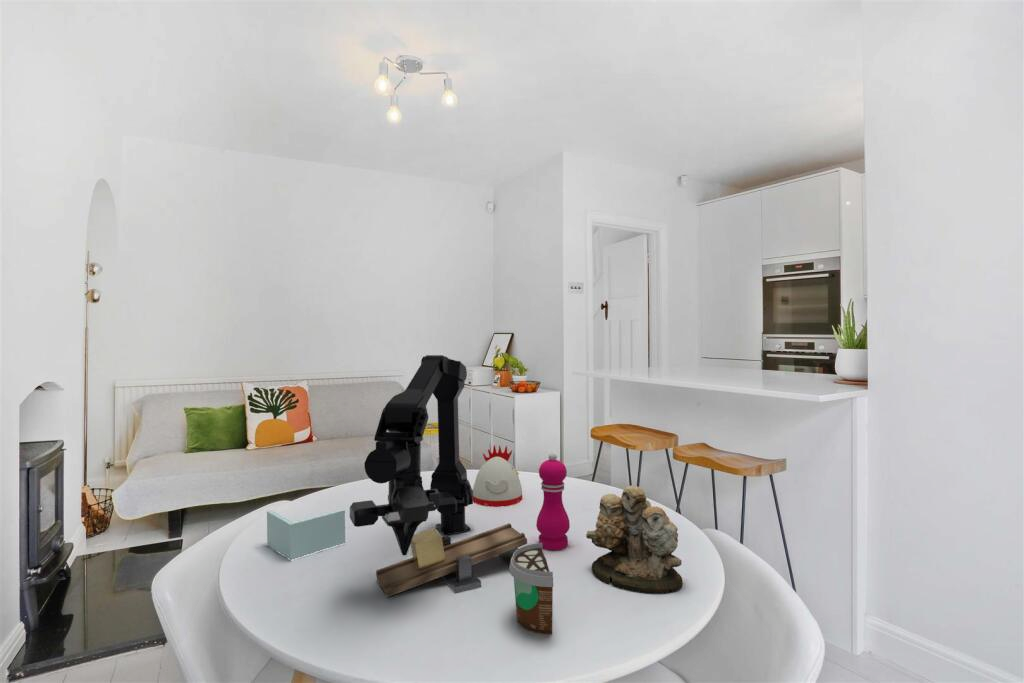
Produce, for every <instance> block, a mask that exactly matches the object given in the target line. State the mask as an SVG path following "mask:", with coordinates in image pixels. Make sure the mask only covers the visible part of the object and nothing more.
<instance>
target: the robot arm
mask: <svg viewBox="0 0 1024 683" xmlns="http://www.w3.org/2000/svg"><path fill="white" fill-rule="evenodd" d="M467 372H468V371H467V367H466V365H465V364H463V363H462V361H461V360H455V359H451V358H449V357H447V356H444V355H441V354H440V355H439V354H427V355H425V356H422V358H421V360H420V366H419V368H417V370H416V372H415V373H414V375H413V377H412V378H411V380H410V382H409V383H408V385H407V386H406V388H405V390H404V391H402V392H399V393H397V394H395V395H394V396H393V397H392V398H390V400H389V401H388V402H387V403H386V404H385V406H384V407H383V409H382V412H381V414H380V419H379V421H378V425H377V427H376V428H377V429H376V432H375V434H374V439H373V440H374V442H375V448H374V449H373V450H372V451H370V452H369V453H368V455H367V456H366V457H365V458H366V459H365V461H364V472H365V473H366V474H365V475H367V477H368V478H369V480H371V481H372V482H373V483H377V484H386V483H388V494H387V501H388V503H385V504H379V505H376V503H375V502H374V500H370V499H369V500H362V501H355V502H352V503H351V505H350V506H349V519H350V521H351V522H352V525H353V526H354V527H357V528H358V527H359V528H360V527H366V526H367V527H368V526H373V525H375V523H376V522H378V520H379V517H381V519H382V520H383V521H384V523H385V525H387V527H391V529H392V531H393V532H394V533H393V534H394V536H395V538H396V541H397V544H398V545H397V546H398V547H399V550H400V553H401V555H402V556H403V557H405V556H407V555H408V552H409V549H410V547H411V545H410V543H411V541H412V538H413V535H414V534H416V530H417V528H418V527H419V526H420V524H422V523H424V522H426V521H427V520H428V518H429V512H435V511H436V510H437V512H438V513H439V514H440V523H436V524H435V527H436V529H438V530H439V531H440V532H441V533H442V535H444V536H449V535H452V534H458V533H459V534H460V533H463V532H468V531H469V532H470V531H471V527H470V526H469V525H468V524H467V523H466V507H468V506H470V505H473V504H474V502H473V488H472V486H471V483H470V481H469V480H468V474H467V473H468V472H467V469H466V467H465V466H464V465H463V463H462V461H461V460H460V439H459V438H460V437H459V436H460V432H459V431H460V429H459V397H460V395H461V393H462V392H463V390H464V388H465V384H466V383H465V382H466V380H467ZM432 395H433V396H434V398H435V399H436V400H437V401H436V402H437V404H436V405H437V428H438V429H437V433H438V434H437V435H438V436H437V438H438V464H437V466H436V468H435V469H434V471H433V472H432V473H431V476H430V477H431V481H430V487H429V489H424V486H423V477H422V476H421V464H422V463H421V462H422V461H421V456H422V455H421V451H422V450H421V449H422V448H421V447H422V446H421V445H422V444H421V442H422V441H423V439H424V437H423V436H424V433H425V431H426V427H427V424H428V420H429V414H428V409H427V408H428V407H427V405H428V403H429V401H430V399H431V397H432Z"/></svg>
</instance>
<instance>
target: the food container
mask: <svg viewBox="0 0 1024 683" xmlns="http://www.w3.org/2000/svg"><path fill="white" fill-rule="evenodd" d="M518 548H519V549H517V550H516V551H515V552H514V553H513V556H512V558H511V562H510V565H509V566H508V567H509V568H508V571H509V574H510V575H511V577H513V585H514V586H513V587H514V596H515V598H514V599H515V600H514V601H515V611H516V621H517V623H518V624H519V626H520V627H522V628H523V629H525V630H527V631H528V632H532V633H535V634H539V635H553V602H554V600H553V598H554V596H553V594H554V592H553V590H554V589H553V587H554V572H553V571H550V568H549V565H548V561H547V558H546V556H545V553H544V551H543V548H542V543H539V542H536V543H535V542H534V543H531V544H530V543H529V544H526V545H523V546H520V547H518Z"/></svg>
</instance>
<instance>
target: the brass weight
mask: <svg viewBox="0 0 1024 683" xmlns="http://www.w3.org/2000/svg"><path fill="white" fill-rule="evenodd" d="M442 537H443V535H442V534H441V533H439V531H438V530H437V528H435V527H433V528H430V529H427V530H426V529H425V530H424V531H420V532H418V533H414V535H413V538H412V541H411V543H410V550H411V556H412V557H411V558H413V563H414V565H415V567H416V568H417V570H418V571H420V570H423V569H425V568H428V567H431V566H434V565H436V564H439V563H442V562H444V561H445V554H444V548H443V542H442Z"/></svg>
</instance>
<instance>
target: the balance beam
mask: <svg viewBox="0 0 1024 683" xmlns="http://www.w3.org/2000/svg"><path fill="white" fill-rule="evenodd" d="M526 545H528V539H527V537H526V534H525V533H524V532H522V533H520V532H519V531H518V530H516V529H514V527H513V526H512V524H511V523H506V524H503V525H500V526H497V527H496V528H491V529H489V530H487V531H483V532H480V533H479V534H475V535H472V536H470V537H466V538H464V539H461V540H458V541H455V542H451V544H449V545H446V546H444V547H443V548H444V554H445V561H444V562H442V563H439V564H436V565H434V566H431V567H428V568H425V569H423V570H420V571H418V570H417V568H416V567H415V565H414V563H413V557H410V558H407V559H405V560H402V561H399V562H397V563H392V564H390V565H388V566H385V567H382V568H379V569H376V570H375V571H376V572H375V575H376V579H377V581H378V583H379V585H380V586H381V588H382V590H383V592H384V595H386V598H388V597H391V596H394V595H397V594H398V593H402V592H404V591H407V590H409V589H412V588H415V587H418V586H420V585H423V584H425V583H427V582H431V581H434V580H435V579H439V578H442V576H444V575H447V574H449V573H452V572H454V571H456V558H457V557H462V556H467V555H469V556H470V557H471V566H473V565H476V564H477V563H481V562H483V561H485V560H489V559H492V558H494V557H496V556H498V555H499V554H502V553H504V552H507V551H510V550H512V549H515V548H521V547H523V546H526Z"/></svg>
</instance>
